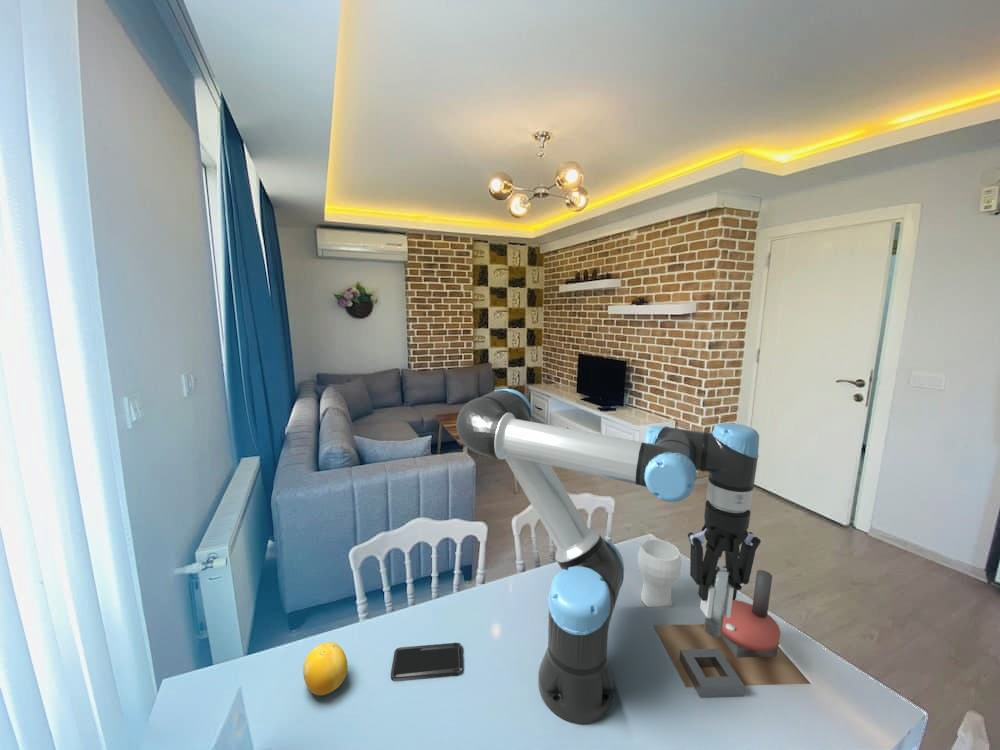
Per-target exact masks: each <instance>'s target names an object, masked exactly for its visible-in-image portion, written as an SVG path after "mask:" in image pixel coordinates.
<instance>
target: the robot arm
mask: <svg viewBox="0 0 1000 750" xmlns="http://www.w3.org/2000/svg"><path fill="white" fill-rule="evenodd" d="M532 409H533V408H532V405H531V403H530V401H529V399H528V398H527V397H526V396H525V395H524V394H523V393H522V392H520V391H518V390H515V389H512V388H502V389H495V390H492V391H491V392H489V393H487V394H484V395H481V396H479V397H476V398H474V399H471V400H469V401H468V402H467V403H465V405H463V406H462V408H461V409H460V411H459V412H458V415H457V417H456V423H455V424H456V426H455V427H456V432H457V435H458V437H459V440H460V441H461V443H462V444H463V445H464V446H465V447H466V448H467V449H468V450H471V451H472V452H474V453H476V454H479V455H482V456H486V457H488V458H493V459H498V460H505V461H506V463H507V464H508V466H509V468H510V470H511V471H512V473H513V475H514V477H515V479H516V481H517V482H518V484H519V485H520V487H521V489H522V490H523V492H524V493H525V496H526V497H527V499H528V501H529V502H530V504H531V506H532V507H533V509H534V510H535V512H536V515H537V516H538V517H539V520H540V521H541V523H542V525H543V527H544V528H545V529H546V532H547V533H548V535H549V537H550V538H551V540H552V542H553V544H554V546H555V547H556V554H555V560H556V561H557V563H558V565H559V567H560V568H561V570H560V571H559V572H558V573H557V574H556V575H555V576H554V578H553V579H552V581H551V583H550V589H549V592H548V599H547V602H548V632H547V633H548V635H547V648H546V651H545V653H544V655H543V657H542V660H541V662H540V665H539V669H538V679H537V681H538V683H537V684H538V692H539V694H540V696H541V699H542V701H543V702H544V704H545V705H546V707H548V709H549V710H550V711H551V712H553V714H554V715H557V716H558V717H559V718H561V719H562V720H565V721H568V722H571V723H575V724H581V725H582V724H592V723H594V722H598V721H600V720H601V719H602V718H604V717H606V715H607V714H608V713H609V712H610V710H611V709H612V705H613V702H614V693H615V691H614V690H615V687H614V686H615V685H614V679H613V676H612V671H611V668H610V666H609V663H608V658H607V656H608V653H607V652H608V638H609V637H608V636H609V629H610V623H611V620H612V616H613V612H614V609H615V607H616V603H617V601H618V600H617V599H618V597H619V593H620V590H621V588H622V586H623V582H624V577H625V575H624V573H625V563H624V559H623V556H622V554H621V551H620V550H619V549H618V548H617V547H616V545H614V543H613V542H611V541H609V540H606V539H605V538H603V537H602V536H601V534H600V533H599V532H598V531H597V530H594V529H590V528H589V527H588V525H587V523H586V522H585V520H584V518H583V517H582V515H581V514H580V511H579V510H578V509H577V507H576V504H575V503H574V502H573V500H572V499H571V496H570V495H569V493H568V491H567V490H566V488H565V486H564V485H563V483H562V482H561V480H560V478H559V476H558V475H557V473H556V472H555V470H554V468H553V467H555V468H556V467H557V468H560V469H565V470H570V471H574V472H579V473H583V474H588V475H593V476H596V477H601V478H605V479H606V478H607V479H610V480H613V481H618V482H624V483H627V484H632V485H637V486H640V487H644V488H647V490H648V491H649V492H650V494H652V495H653V496H654V497H656V498H658V499H659V500H661V501H664V502H667V503H676V502H681V501H683V500H685V499H686V498H688V497H689V496H690V494H692V492H693V489H695V488H694V487H695V485H696V484H695V483H696V482H697V478H698V473H697V471H698V472H703V473H704V472H706V473H708V478H707V480H708V481H707V487H706V494H705V495H706V496H705V497H706V501H705V506H704V507H705V508H704V514H703V515H704V516H703V517H704V518H703V519H704V524H703V526H702V528H701V531H700V532H697V533H694V532H692V531H691V532H689V533H687V538H688V540H689V542H690V555H689V556H690V558H689V559H690V560H689V561H690V562H689V563H690V565H689V567H690V568H689V576H690V577H691V578H692V580H693V581H694V582H695V584H696V585H697V586H698V592H697V594H698V596H699V598H700V604H699V605H700V606H699V607H700V608H699V609H700V610H701V612H702V613H703V614H704V615H705V616H706V617H707V618H711V614H712V606H713V597H714V587H713V586H712V585H711V583H712V580H713V577H714V573H715V570H716V566H717V563H718V559H719V560H720V558H721V557H722V555H723V552H724V556H725V557H724V559H725V566H726V567H727V568H728V569H729V578H728V586H727V594H726V603H725V611H724V615H725V617H726V618H730V615H731V607H732V600H737V594H738V591H740V590H742V588H743V586H742V584H743V585H748V584H749V583H750V578H751V573H752V569H753V564H754V560H755V555H756V550H757V549H758V547H759V546H760V544H761V542H762V541H761V539H760V538H759V537H758V536H756V535H755V534H754V532H752V531H749V532H748V530H749V526H750V520H751V510H750V509H751V508H752V502H753V497H754V488H755V482H756V481H755V479H756V473H757V468H758V467H757V466H758V460H759V447H760V434H759V432H757V430H756V429H754V428H753V427H751V426H748V425H745V424H740V423H735V422H734V423H733V422H729V423H727V422H720V423H717V424H715V425H714V427H713V430H712V432H703V431H698V430H697V431H695V430H691V429H682V428H676V427H670V426H668V425H667V426H661V425H660V426H658V425H651V426H649V427H648V428H647V429H646V432H645V436H644V437H645V438H644V442H642V441H638V440H633V439H627V438H621V437H615V436H611V435H605V434H599V433H594V432H589V431H583V430H578V429H572V428H566V427H561V426H556V425H550V424H545V423H540V422H539V423H538V422H535V421H532V416H533V410H532ZM705 540H706V543H705ZM704 546H705V549H706V550H705V553H704V550H703V549H704V548H703V547H704Z"/></svg>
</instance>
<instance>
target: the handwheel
mask: <svg viewBox="0 0 1000 750" xmlns="http://www.w3.org/2000/svg"><path fill="white" fill-rule="evenodd" d="M772 582H773V575H772V574H771V572H768V571H766V570H763V569H760V570H759V569H758V570H756V575H755V583H754V592H753V598H752V600H753V601H752V604H751V603H749V602H746V601H742V600H737V599H735V600H732V607H731V615H730V618H726V617H725V615H724V619H723V628H722V634H723V635H724V636H725V637H726V638H728V639H729V640H730V641H732V642H734V643H735V644H737V645H739V646H742V647H744V648H747V649H750V650H754V651H761V652H766V651H771V650H774V649H775V648H777V646H779V645H780V640H781V629H780V627H779V625H778V623H777V622H776V620H775V619H774V618H773V617H772V616H771V615H769V614H768V613H769V605H770V596H771V591H772V590H771V589H772Z"/></svg>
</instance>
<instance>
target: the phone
mask: <svg viewBox="0 0 1000 750" xmlns="http://www.w3.org/2000/svg"><path fill="white" fill-rule="evenodd" d="M393 653H394V654H393V659H392V665H391V668H390V669H391V670H390V680H391V681H392V682H405V681H415V680H425V679H426V680H427V679H435V678H447V677H448V678H449V677H458V676H460V675H462V673H463V645H462V643H460V642H452V643H451V642H450V643H448V642H447V643H435V644H426V645H425V644H424V645H413V646H411V645H410V646H401V647H397V648H396V649H395V650H394V652H393Z"/></svg>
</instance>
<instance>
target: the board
mask: <svg viewBox="0 0 1000 750" xmlns="http://www.w3.org/2000/svg"><path fill="white" fill-rule="evenodd" d="M653 627H654V630H655V631H656V633H657V635H658V638H659V639H660V641H661V643H662V645H663V647H664V649H665V650H666V652H667V654H668V657H669V658H670V660H671V662H672V664H673V665H674V667H675V670H676V671H677V673H678V675H679V677H680V678H681V679H680V680H682V683H683V684H684V686H685V688H695V687H694V686H693V684H692V682H691V680H690V678H689V676H688V675H687V673H686V671H685V669H684V667H683V666H682V664H681V662H680V660H679V658H680V650H689V649H720V651H721V652H722V654H723V655H724V657H725V658H726V659H727V661H728V662H729V664H730V665H731V667H732V668H733V670H734V671H735V673H736V674H737V676H738V677H739V678H740V680H741V681H742V683H743V684H744V686H775V685H776V686H777V685H778V686H779V685H809V684H810V685H811V682H810V681H809V680H808V678H807V677H806V676H805V674H804V673H803V672H802V671H801V670H800V669H799V668H798V667H797V665H795V663H794V662H793V661H792V660H791V659H790V657H789V656H788V655H787V653H785V651H784V650H783V649H782V648H781V647H780V646H779V645H778V646H777V648H775V649H774V650H771V651H766V652H761V651H754V650H750V649H747V648H744V647H742V646H739V645H737V644H735V643H734V642H732V641H730V640H729V639H728V638H726V637H725V636H724V635H723V634H722V635H721V636H720V637H714V636H711V635H709V634H708V633H707V632H706V631H705V630H704V623H701V624H700V623H698V624H697V623H696V624H694V623H693V624H662V625H661V624H655V625H654V624H653ZM700 668H701V670H702V672H703V673H704V675H705V677H720V675H719V674H718V672H717V671H716V669H715V668H714V667H700Z"/></svg>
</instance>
